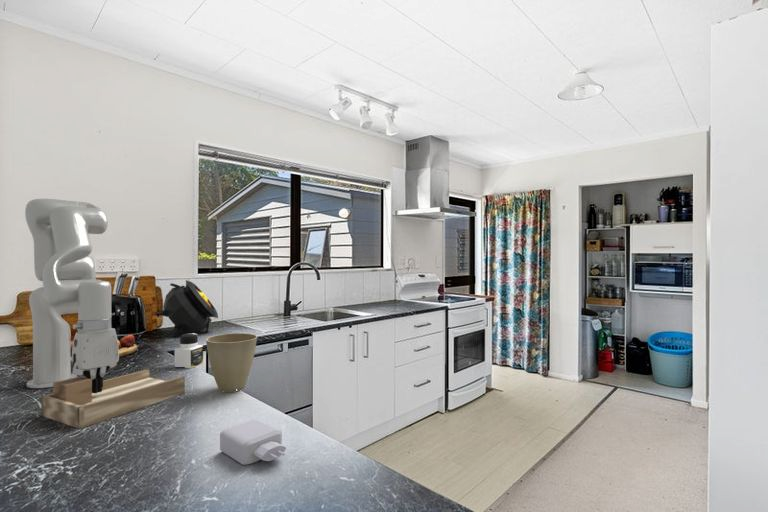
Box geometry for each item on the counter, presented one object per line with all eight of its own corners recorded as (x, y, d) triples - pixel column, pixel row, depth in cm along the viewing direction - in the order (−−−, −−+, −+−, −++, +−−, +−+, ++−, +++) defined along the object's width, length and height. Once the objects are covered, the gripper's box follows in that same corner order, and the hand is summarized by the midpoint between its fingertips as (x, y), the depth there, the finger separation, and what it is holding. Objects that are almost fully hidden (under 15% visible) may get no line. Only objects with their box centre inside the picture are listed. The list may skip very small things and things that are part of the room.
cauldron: (169, 320, 231) (206, 293, 239) (191, 352, 217) (229, 322, 225) (140, 296, 208) (182, 267, 217) (162, 330, 195) (206, 298, 203)
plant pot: (210, 400, 114) (210, 344, 114) (202, 386, 127) (202, 336, 127) (263, 390, 122) (262, 338, 122) (250, 378, 135) (250, 331, 135)
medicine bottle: (191, 368, 147) (191, 336, 148) (174, 367, 149) (174, 335, 149) (203, 363, 154) (203, 332, 155) (187, 362, 156) (187, 332, 156)
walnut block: (53, 405, 104) (53, 382, 104) (79, 398, 109) (79, 376, 109) (66, 409, 101) (66, 385, 101) (91, 401, 107) (91, 379, 107)
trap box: (41, 415, 104) (41, 396, 104) (147, 384, 129) (147, 369, 129) (79, 428, 96) (79, 407, 96) (184, 393, 120) (184, 376, 121)
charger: (259, 478, 74) (219, 453, 84) (299, 459, 81) (259, 438, 91) (259, 453, 74) (219, 430, 84) (299, 436, 81) (259, 417, 91)
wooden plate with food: (145, 345, 190) (145, 327, 190) (125, 360, 159) (125, 339, 159) (64, 351, 180) (64, 333, 180) (26, 369, 149) (26, 347, 149)
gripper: (71, 330, 103) (72, 402, 102) (130, 322, 116) (131, 386, 116) (56, 329, 106) (56, 398, 106) (115, 321, 119) (115, 382, 119)
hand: (95, 391), depth 111 cm, fingers closed
